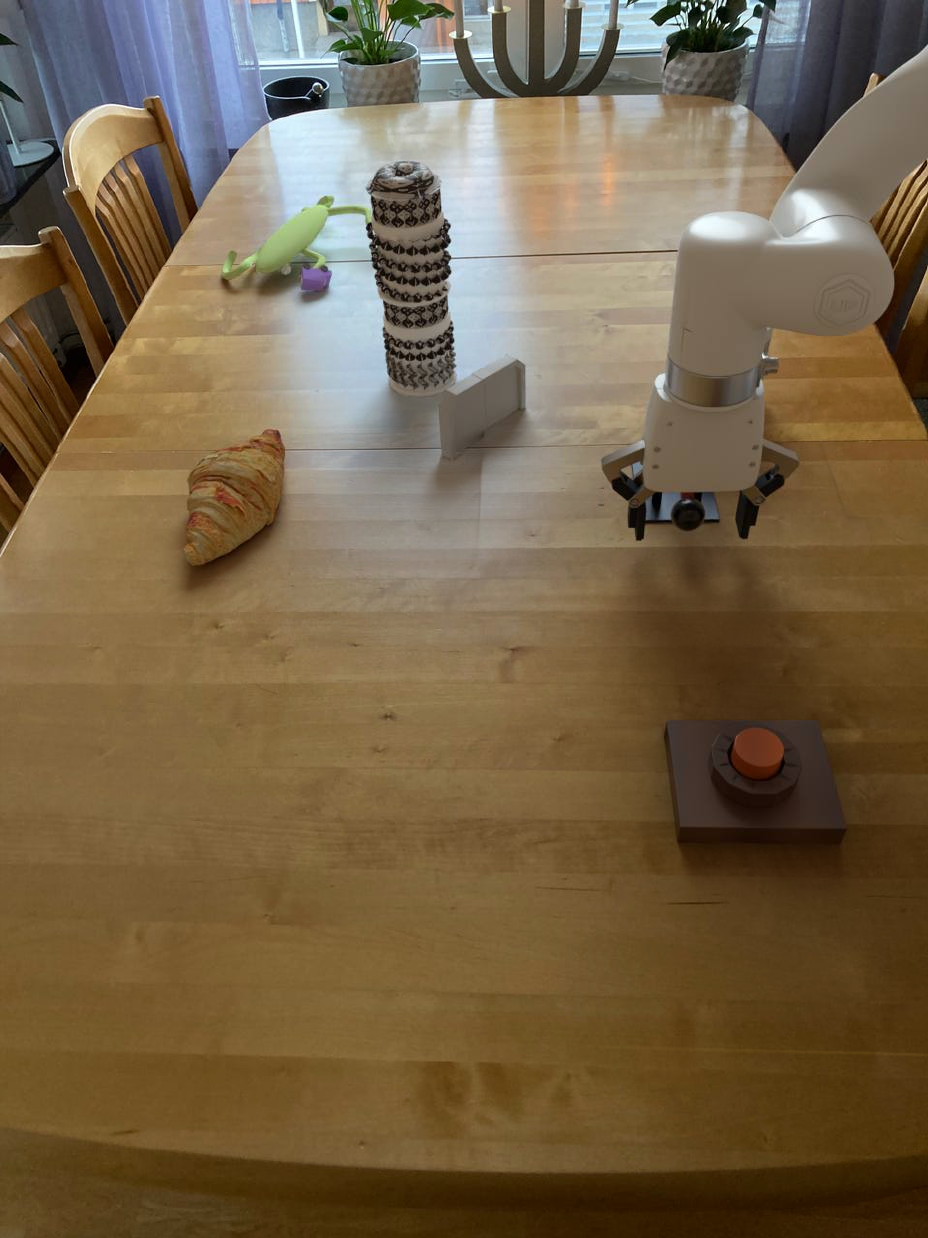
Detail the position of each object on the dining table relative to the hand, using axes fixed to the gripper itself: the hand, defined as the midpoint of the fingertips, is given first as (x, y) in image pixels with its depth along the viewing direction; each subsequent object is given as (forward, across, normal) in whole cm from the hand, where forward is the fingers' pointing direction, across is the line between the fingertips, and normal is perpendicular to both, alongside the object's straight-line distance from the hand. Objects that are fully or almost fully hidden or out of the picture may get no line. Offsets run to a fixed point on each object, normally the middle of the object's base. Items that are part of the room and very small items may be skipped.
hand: (689, 530), depth 92 cm
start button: (0, -2, +27) cm, 27 cm away
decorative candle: (+3, +28, -33) cm, 44 cm away
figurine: (+3, +46, -68) cm, 82 cm away
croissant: (+3, +46, -8) cm, 47 cm away
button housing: (+4, -2, +27) cm, 27 cm away
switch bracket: (+4, 0, -9) cm, 10 cm away
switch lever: (-3, 0, -6) cm, 6 cm away
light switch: (+4, +20, -21) cm, 30 cm away
